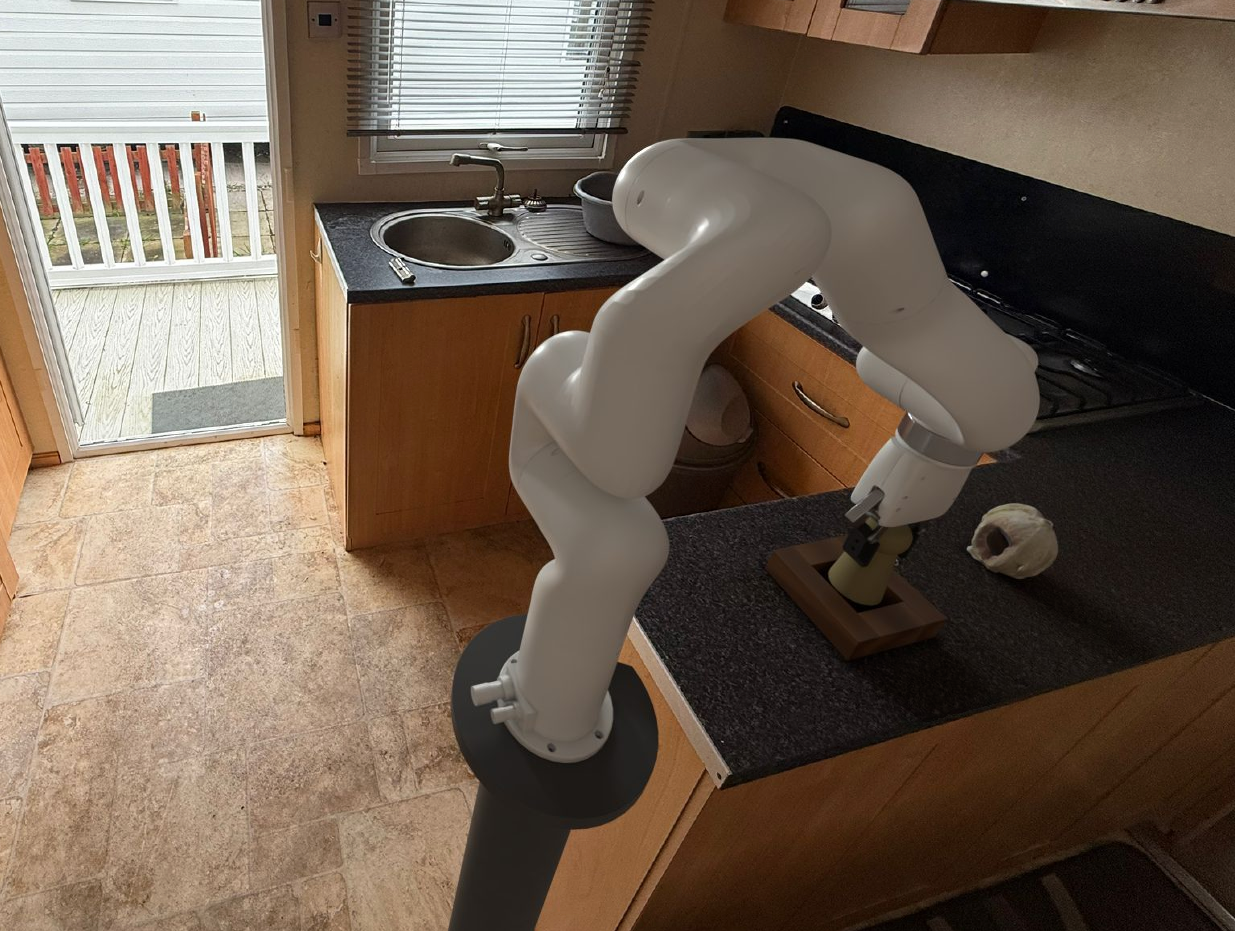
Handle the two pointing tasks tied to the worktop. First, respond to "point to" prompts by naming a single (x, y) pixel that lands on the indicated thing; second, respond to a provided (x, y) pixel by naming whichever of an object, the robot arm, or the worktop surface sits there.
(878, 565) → the cork
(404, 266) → the worktop surface
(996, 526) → the cream hollow round shell
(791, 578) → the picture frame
